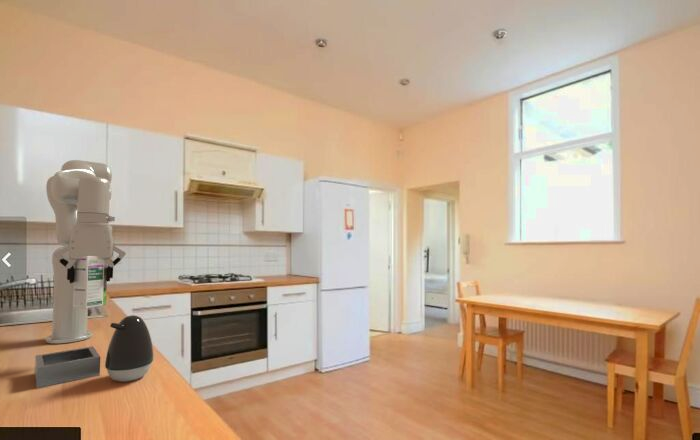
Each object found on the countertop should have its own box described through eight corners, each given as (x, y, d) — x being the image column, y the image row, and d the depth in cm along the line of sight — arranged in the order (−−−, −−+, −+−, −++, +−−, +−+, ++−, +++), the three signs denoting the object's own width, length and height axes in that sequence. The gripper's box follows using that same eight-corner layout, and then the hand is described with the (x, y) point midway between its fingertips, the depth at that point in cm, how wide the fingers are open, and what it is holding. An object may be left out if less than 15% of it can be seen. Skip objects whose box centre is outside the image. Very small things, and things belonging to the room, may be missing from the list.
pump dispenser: (93, 382, 86) (96, 318, 87) (132, 368, 96) (135, 310, 97) (124, 389, 83) (127, 321, 83) (162, 373, 92) (164, 313, 93)
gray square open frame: (34, 373, 92) (35, 355, 92) (92, 362, 100) (92, 346, 100) (36, 388, 83) (37, 368, 83) (99, 375, 91) (100, 356, 91)
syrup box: (85, 309, 99) (87, 255, 100) (71, 307, 101) (74, 255, 102) (106, 305, 104) (108, 255, 105) (93, 304, 106) (95, 254, 107)
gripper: (128, 221, 112) (126, 279, 111) (57, 220, 103) (54, 282, 102) (128, 220, 105) (126, 281, 104) (51, 218, 96) (48, 285, 95)
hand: (90, 281), depth 103 cm, fingers closed on syrup box, 8 cm apart
